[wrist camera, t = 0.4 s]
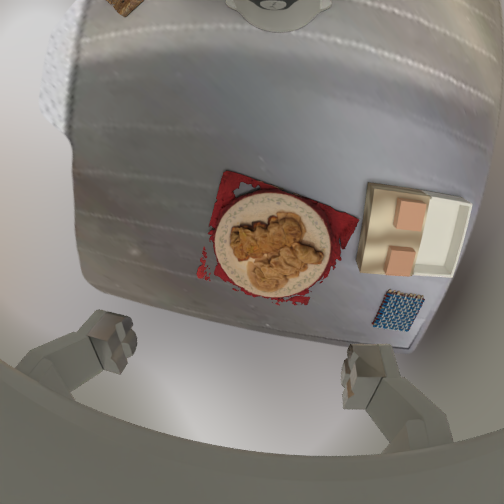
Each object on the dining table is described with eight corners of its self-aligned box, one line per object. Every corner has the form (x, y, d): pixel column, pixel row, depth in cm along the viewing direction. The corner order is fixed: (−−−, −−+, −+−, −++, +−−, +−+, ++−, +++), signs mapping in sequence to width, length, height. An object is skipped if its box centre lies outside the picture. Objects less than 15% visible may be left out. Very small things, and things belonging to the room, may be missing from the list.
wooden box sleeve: (367, 182, 49) (374, 188, 44) (420, 189, 47) (430, 196, 43) (355, 260, 56) (360, 272, 51) (404, 264, 54) (411, 276, 50)
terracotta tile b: (388, 245, 48) (391, 250, 46) (412, 247, 48) (416, 252, 46) (383, 269, 50) (385, 274, 49) (406, 271, 50) (409, 276, 48)
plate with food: (226, 167, 53) (221, 171, 50) (358, 217, 52) (361, 223, 49) (198, 273, 64) (192, 281, 61) (309, 313, 64) (308, 323, 61)
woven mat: (407, 328, 62) (409, 334, 60) (370, 323, 63) (371, 329, 61) (424, 294, 57) (427, 299, 55) (386, 286, 58) (388, 292, 56)
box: (420, 189, 47) (429, 196, 43) (461, 197, 46) (472, 204, 42) (404, 264, 54) (410, 274, 50) (444, 267, 53) (452, 277, 49)
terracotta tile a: (397, 197, 44) (401, 200, 43) (422, 201, 44) (426, 204, 42) (392, 224, 46) (396, 228, 45) (417, 227, 46) (421, 231, 44)
